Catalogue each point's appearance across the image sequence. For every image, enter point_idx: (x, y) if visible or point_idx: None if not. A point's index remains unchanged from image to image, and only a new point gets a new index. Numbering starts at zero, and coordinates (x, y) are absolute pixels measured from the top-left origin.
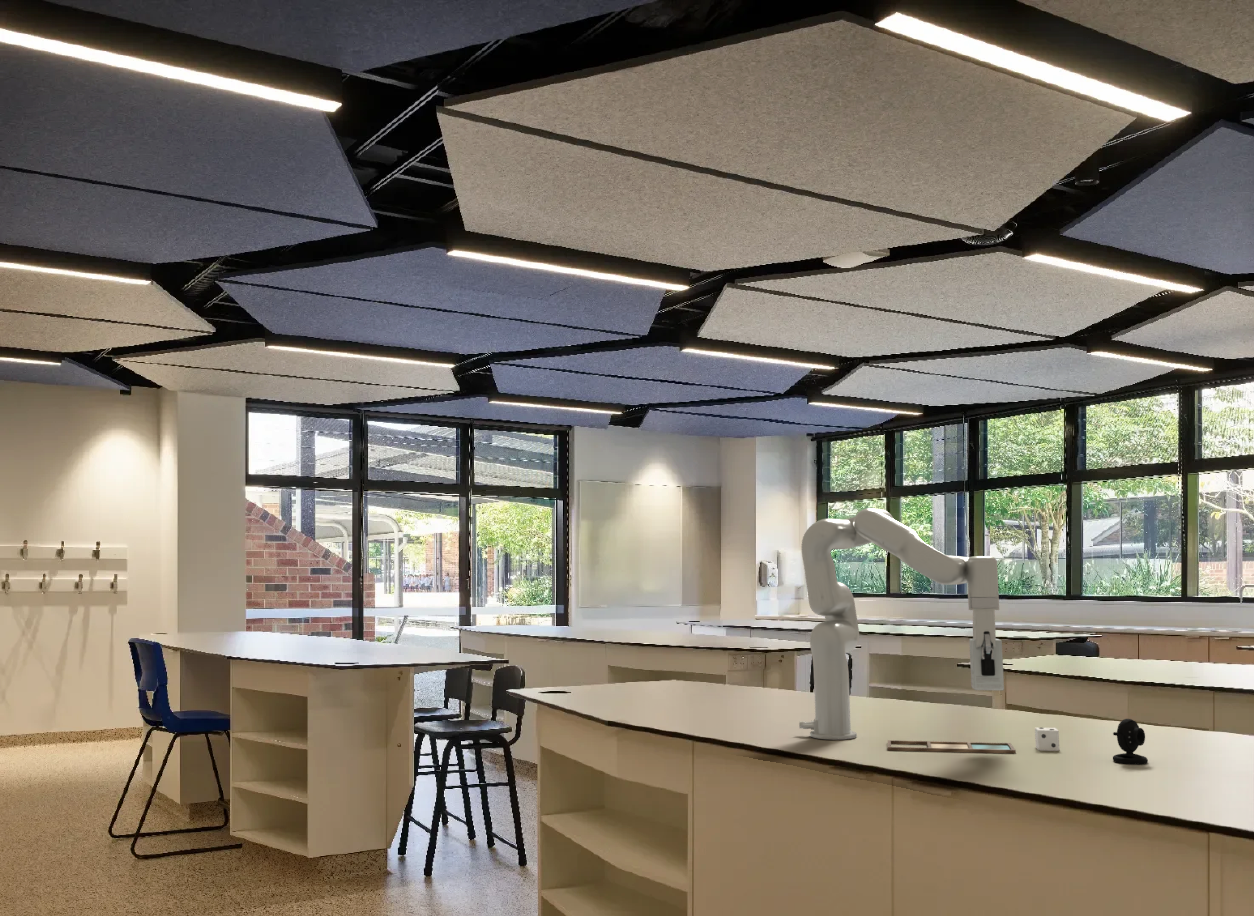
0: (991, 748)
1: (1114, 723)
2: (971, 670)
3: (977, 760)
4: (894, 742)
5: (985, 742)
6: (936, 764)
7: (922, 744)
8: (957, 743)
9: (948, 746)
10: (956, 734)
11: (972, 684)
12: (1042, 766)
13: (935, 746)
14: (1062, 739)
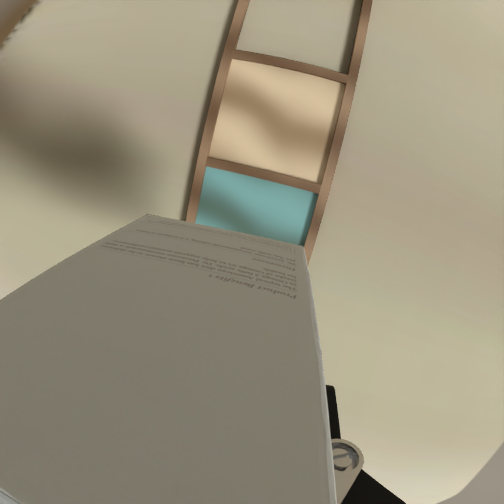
0: (241, 228)
1: (461, 485)
2: (214, 267)
3: (94, 146)
4: (362, 2)
5: (314, 238)
6: (64, 56)
7: (349, 65)
8: (327, 158)
9: (287, 118)
10: (494, 228)
11: (207, 230)
12: (46, 257)
13: (291, 82)
14: (363, 418)
